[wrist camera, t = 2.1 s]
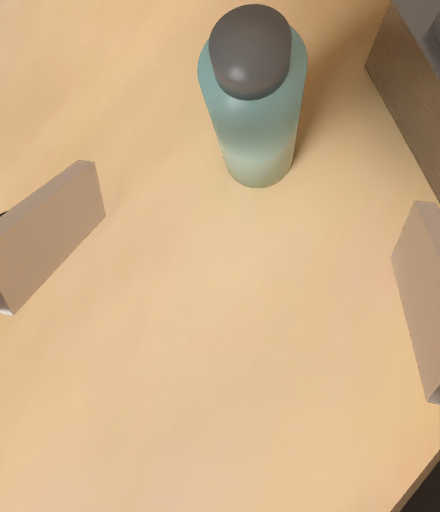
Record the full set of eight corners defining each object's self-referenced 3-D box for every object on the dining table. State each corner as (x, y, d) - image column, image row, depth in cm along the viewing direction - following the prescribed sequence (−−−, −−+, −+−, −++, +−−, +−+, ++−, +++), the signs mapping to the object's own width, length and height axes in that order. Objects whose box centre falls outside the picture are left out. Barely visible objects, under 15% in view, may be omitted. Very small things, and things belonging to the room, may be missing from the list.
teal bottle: (215, 140, 28) (173, 21, 16) (276, 112, 27) (280, -33, 15) (240, 199, 27) (217, 118, 15) (304, 170, 26) (332, 64, 14)
